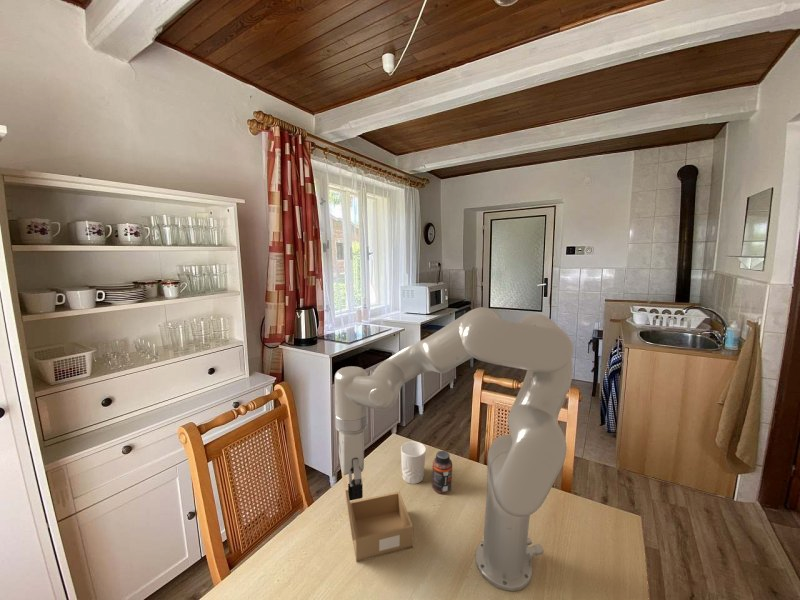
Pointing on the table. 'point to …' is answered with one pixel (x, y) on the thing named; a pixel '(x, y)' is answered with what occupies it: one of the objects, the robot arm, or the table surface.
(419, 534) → the table surface
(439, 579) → the table surface
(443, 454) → the supplement bottle
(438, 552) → the table surface
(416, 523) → the table surface
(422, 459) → the white cup
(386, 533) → the carton
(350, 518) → the cardboard box lid
